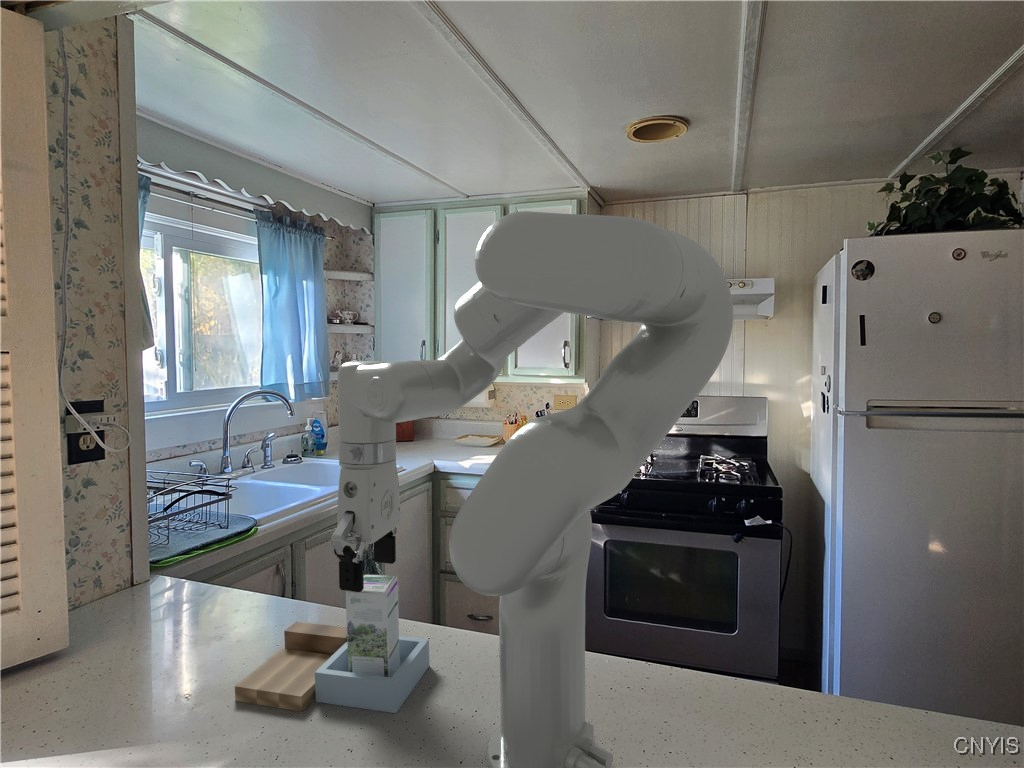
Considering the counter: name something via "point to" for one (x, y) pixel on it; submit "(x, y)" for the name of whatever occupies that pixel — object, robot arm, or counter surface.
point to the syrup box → (374, 627)
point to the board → (283, 680)
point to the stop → (315, 638)
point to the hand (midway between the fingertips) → (369, 575)
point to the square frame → (372, 679)
